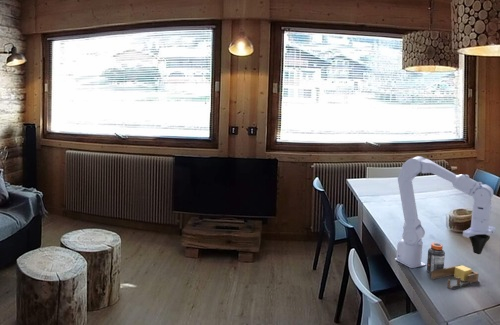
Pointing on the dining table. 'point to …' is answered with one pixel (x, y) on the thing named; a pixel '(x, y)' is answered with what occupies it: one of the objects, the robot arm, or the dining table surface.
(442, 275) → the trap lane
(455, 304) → the dining table surface
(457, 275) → the ochre block
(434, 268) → the pill bottle
